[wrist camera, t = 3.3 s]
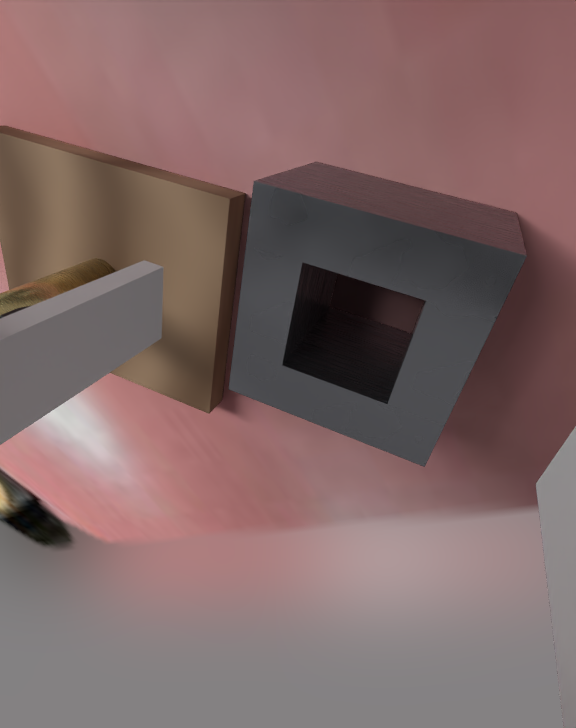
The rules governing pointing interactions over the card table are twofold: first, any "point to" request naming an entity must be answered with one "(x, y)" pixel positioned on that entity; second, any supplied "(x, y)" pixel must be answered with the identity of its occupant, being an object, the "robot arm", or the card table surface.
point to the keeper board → (129, 247)
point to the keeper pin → (54, 284)
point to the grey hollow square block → (357, 334)
